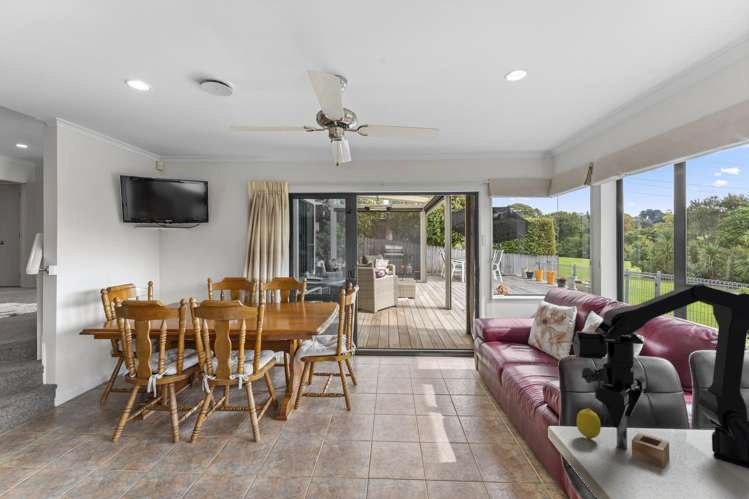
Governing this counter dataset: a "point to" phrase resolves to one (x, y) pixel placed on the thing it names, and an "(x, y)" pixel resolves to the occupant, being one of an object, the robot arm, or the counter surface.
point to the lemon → (588, 423)
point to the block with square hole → (650, 449)
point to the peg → (622, 434)
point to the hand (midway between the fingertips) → (622, 421)
